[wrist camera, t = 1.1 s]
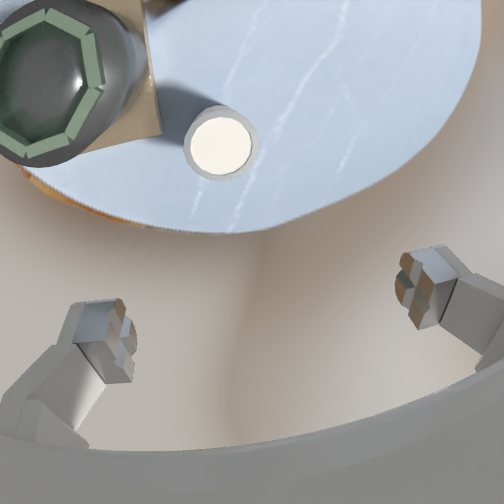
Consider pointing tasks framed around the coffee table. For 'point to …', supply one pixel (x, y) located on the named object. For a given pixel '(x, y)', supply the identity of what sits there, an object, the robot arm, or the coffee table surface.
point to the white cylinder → (221, 144)
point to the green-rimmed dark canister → (74, 80)
